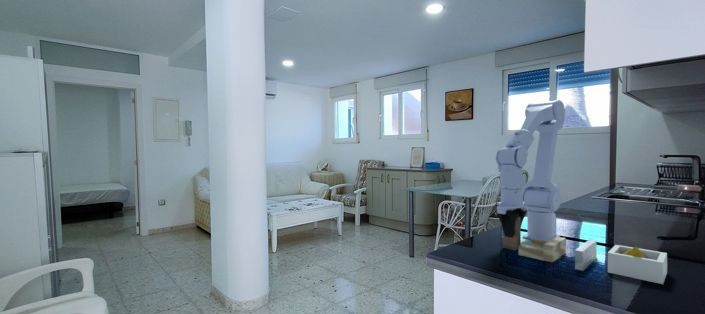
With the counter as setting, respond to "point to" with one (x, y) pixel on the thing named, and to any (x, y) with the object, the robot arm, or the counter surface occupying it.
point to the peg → (516, 239)
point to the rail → (585, 255)
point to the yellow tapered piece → (634, 253)
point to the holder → (638, 264)
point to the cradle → (544, 249)
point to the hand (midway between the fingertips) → (511, 235)
